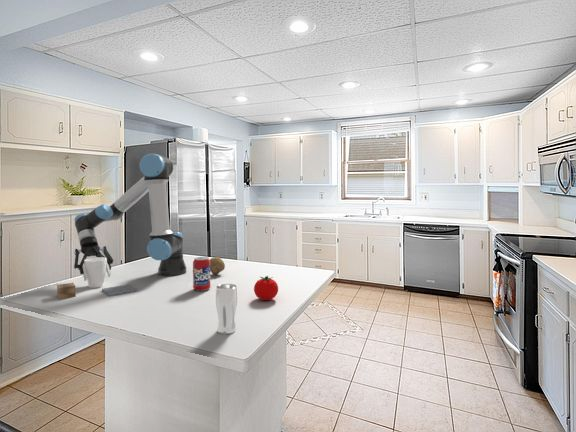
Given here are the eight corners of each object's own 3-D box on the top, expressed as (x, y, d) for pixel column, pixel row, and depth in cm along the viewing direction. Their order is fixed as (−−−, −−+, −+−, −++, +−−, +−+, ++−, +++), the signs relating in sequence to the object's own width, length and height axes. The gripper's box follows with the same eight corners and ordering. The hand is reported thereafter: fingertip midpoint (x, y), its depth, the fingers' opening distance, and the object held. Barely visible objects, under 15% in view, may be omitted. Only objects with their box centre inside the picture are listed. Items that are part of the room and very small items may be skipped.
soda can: (204, 286, 162) (204, 255, 161) (213, 289, 157) (213, 258, 156) (190, 289, 157) (189, 257, 156) (198, 293, 151) (198, 260, 150)
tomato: (269, 305, 136) (269, 281, 135) (248, 300, 142) (248, 277, 141) (282, 298, 145) (283, 275, 144) (263, 294, 151) (263, 272, 150)
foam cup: (97, 289, 156) (96, 261, 155) (80, 288, 158) (79, 260, 157) (111, 283, 165) (110, 257, 164) (95, 282, 167) (94, 256, 166)
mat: (129, 285, 162) (129, 283, 162) (138, 291, 154) (138, 289, 154) (102, 290, 154) (102, 288, 154) (110, 296, 145) (110, 294, 145)
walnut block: (73, 293, 150) (73, 282, 149) (75, 296, 145) (75, 285, 145) (57, 296, 146) (56, 284, 146) (59, 299, 141) (58, 288, 141)
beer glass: (226, 324, 116) (226, 282, 115) (241, 329, 112) (241, 285, 111) (211, 331, 110) (211, 287, 109) (226, 336, 106) (226, 290, 105)
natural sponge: (223, 272, 190) (223, 255, 190) (225, 276, 182) (225, 258, 181) (207, 273, 187) (207, 255, 187) (208, 277, 179) (208, 259, 178)
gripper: (110, 242, 179) (121, 277, 168) (61, 247, 164) (69, 285, 153) (113, 233, 174) (124, 269, 164) (63, 237, 159) (71, 276, 149)
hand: (97, 277), depth 159 cm, fingers closed on foam cup, 9 cm apart
